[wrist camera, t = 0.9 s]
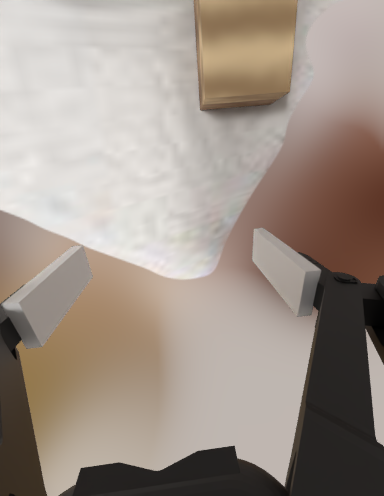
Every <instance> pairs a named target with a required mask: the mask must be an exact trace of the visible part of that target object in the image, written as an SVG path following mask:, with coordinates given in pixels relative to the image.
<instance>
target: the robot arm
mask: <svg viewBox="0 0 384 496" xmlns="http://www.w3.org/2000/svg"><path fill="white" fill-rule="evenodd" d="M252 261H253V262H254V263H255V264H256V266H257V267H258V268H259V269H260V271H261V272H262V273H263V274H264V276H265V277H266V278H267V279H268V281H269V282H270V283H271V284H272V286H273V287H274V288H275V289H276V291H277V292H278V293H279V294H280V296H281V297H282V298H283V299H284V301H285V302H286V303H287V305H288V306H289V307H290V308H291V309H292V311H293V312H294V313H295V314H296V316H297V317H299V316H308V315H311V314H312V310H313V306H314V307H315V308H316V309H317V310H318V311H319V312H318V316H317V320H316V325H315V332H314V338H313V342H312V348H311V353H310V359H309V364H308V369H307V375H306V380H305V385H304V391H303V396H302V402H301V406H300V412H299V417H298V422H297V427H296V433H295V438H294V443H293V449H292V454H291V458H290V463H289V468H288V472H287V477H286V482H285V487H284V486H283V485H282V484H281V483H279V482H278V481H277V480H276V479H275V478H274V477H273V476H272V475H270V474H269V473H267V472H266V471H265V470H263V469H262V468H260V467H258V466H256V465H255V464H252V463H250V462H247V461H245V460H241V459H237V456H236V451H235V446H229V447H222V448H215V449H209V450H202V451H197V452H195V453H193V454H191V455H190V456H187V457H186V458H184V459H182V460H180V461H178V462H176V463H174V464H172V465H170V466H168V467H167V468H165V469H163V470H160V471H153V470H149V469H144V468H140V467H136V466H131V465H127V464H123V463H113V464H106V465H99V466H93V467H85V468H81V470H80V473H79V476H78V479H77V482H76V485H74V486H72V487H71V488H69V489H68V490H66V491H64V492H63V493H62V494H60V495H59V496H384V446H383V445H381V444H380V443H378V442H377V440H376V437H375V430H374V418H373V407H372V397H371V386H370V375H369V364H368V353H367V342H366V331H365V328H366V330H367V332H368V334H369V336H370V338H371V340H372V342H373V344H374V346H375V348H376V350H377V352H378V354H379V356H380V358H381V360H382V362H383V364H384V276H380V277H379V278H378V280H377V283H376V284H367V283H361V282H360V280H358V279H357V278H356V277H354V276H352V275H349V274H345V273H340V272H331V271H330V270H328V269H327V268H325V267H324V266H323V265H321V264H319V263H318V262H317V261H315V260H313V259H312V258H311V257H309V256H308V255H305V254H303V253H300V252H298V253H297V252H296V251H294V250H293V249H292V248H290V247H289V246H288V245H286V244H285V243H283V242H282V241H281V240H279V239H278V238H276V237H275V236H274V235H272V234H271V233H270V232H268V231H267V230H265V229H264V228H258V229H254V235H253V253H252ZM92 277H93V275H92V272H91V269H90V266H89V263H88V260H87V257H86V253H85V250H84V247H83V245H81V246H72V247H71V248H70V249H69V250H67V251H66V252H65V253H64V254H62V255H61V256H60V257H59V258H57V259H56V260H55V261H54V262H53V263H51V264H50V265H49V266H48V267H46V268H45V269H44V270H43V271H41V272H40V273H39V274H38V275H37V276H35V277H34V278H33V279H32V280H30V281H29V282H28V283H27V284H25V285H23V286H22V287H20V289H18V290H17V291H16V292H14V293H13V294H12V295H10V297H8V298H7V299H6V300H4V301H3V302H2V303H1V304H0V496H47V494H46V491H45V487H44V482H43V477H42V471H41V466H40V461H39V456H38V451H37V445H36V440H35V435H34V429H33V424H32V419H31V414H30V408H29V404H28V398H27V393H26V388H25V382H24V377H23V372H22V366H21V361H20V356H19V352H18V350H17V348H16V345H17V344H18V343H19V342H20V341H21V340H22V342H23V344H24V345H25V347H26V348H27V349H28V348H37V347H42V346H43V345H44V344H45V342H46V341H47V340H48V338H49V337H50V335H51V334H52V333H53V331H54V330H55V329H56V327H57V326H58V324H59V323H60V322H61V320H62V319H63V317H64V316H65V315H66V313H67V312H68V310H69V309H70V308H71V306H72V305H73V304H74V302H75V301H76V299H77V298H78V297H79V295H80V294H81V292H82V291H83V290H84V288H85V287H86V286H87V284H88V283H89V281H90V280H91V279H92Z"/></svg>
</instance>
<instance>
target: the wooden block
mask: <svg viewBox="0 0 384 496" xmlns="http://www.w3.org/2000/svg"><path fill="white" fill-rule="evenodd" d="M297 1H298V0H194V13H195V30H196V47H197V64H198V81H199V98H200V110H208V109H220V108H232V107H244V106H256V105H268V104H272V103H273V102H275V101H276V100H278V99H279V98H281V97H282V96H284V95H285V94H287V93H288V92H290V83H291V71H292V59H293V48H294V36H295V24H296V13H297Z"/></svg>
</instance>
